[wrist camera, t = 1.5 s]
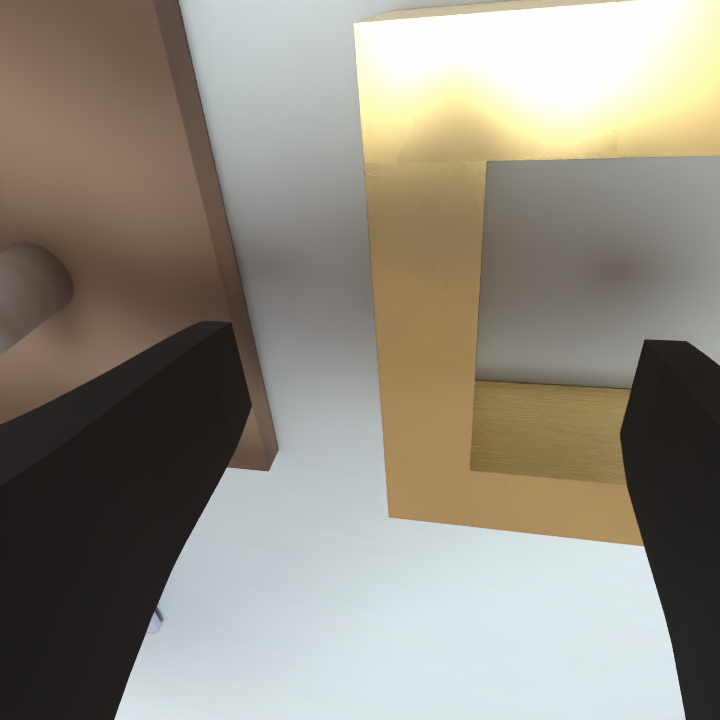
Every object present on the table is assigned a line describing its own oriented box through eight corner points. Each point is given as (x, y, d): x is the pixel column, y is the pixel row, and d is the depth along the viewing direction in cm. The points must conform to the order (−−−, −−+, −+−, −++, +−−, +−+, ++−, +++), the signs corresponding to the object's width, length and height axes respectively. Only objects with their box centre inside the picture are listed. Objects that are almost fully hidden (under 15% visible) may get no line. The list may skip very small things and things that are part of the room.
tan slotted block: (809, 459, 15) (884, 573, 12) (406, 427, 17) (389, 517, 14) (1089, -48, 8) (1389, -61, 6) (390, 10, 11) (354, 23, 8)
